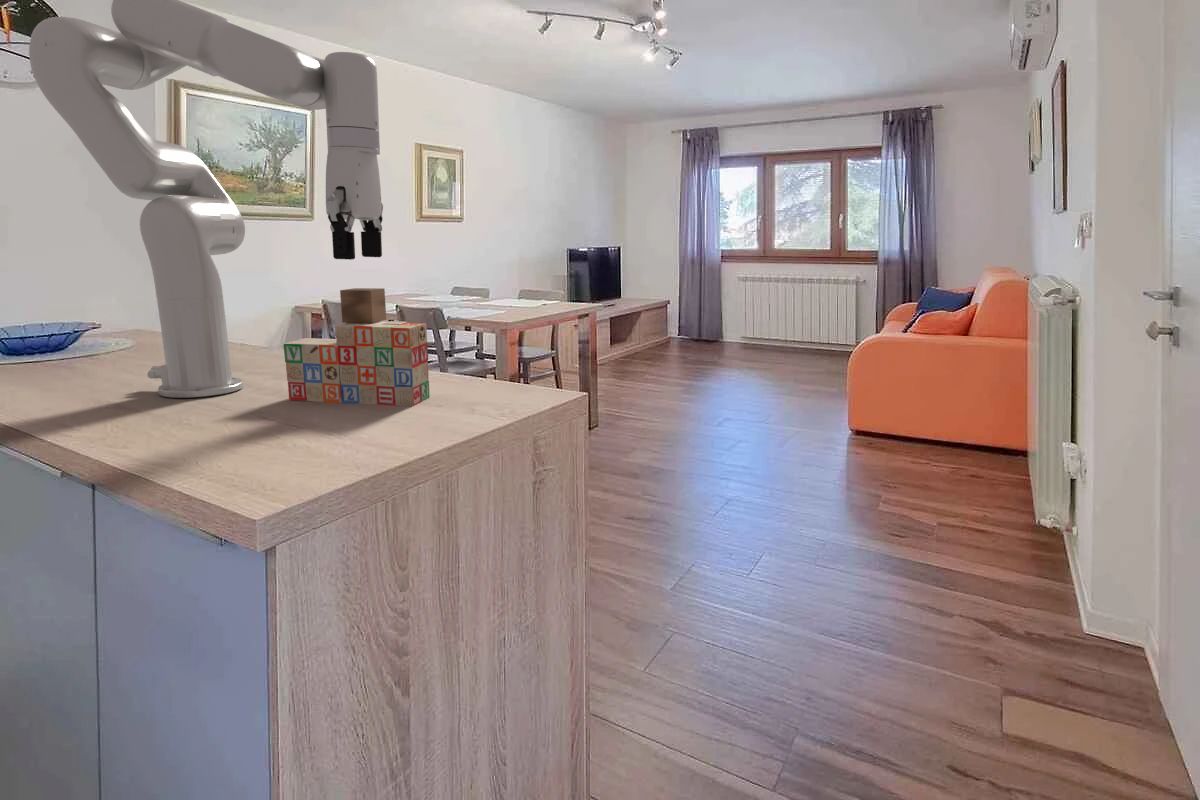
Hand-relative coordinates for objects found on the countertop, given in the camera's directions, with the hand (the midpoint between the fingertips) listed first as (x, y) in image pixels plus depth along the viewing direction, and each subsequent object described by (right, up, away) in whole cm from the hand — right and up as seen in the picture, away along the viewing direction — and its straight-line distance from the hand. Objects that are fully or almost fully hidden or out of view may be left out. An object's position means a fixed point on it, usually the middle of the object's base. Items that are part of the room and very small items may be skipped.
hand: (358, 257), depth 117 cm
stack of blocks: (0, -22, +2) cm, 22 cm away
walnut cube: (0, -10, +2) cm, 10 cm away
